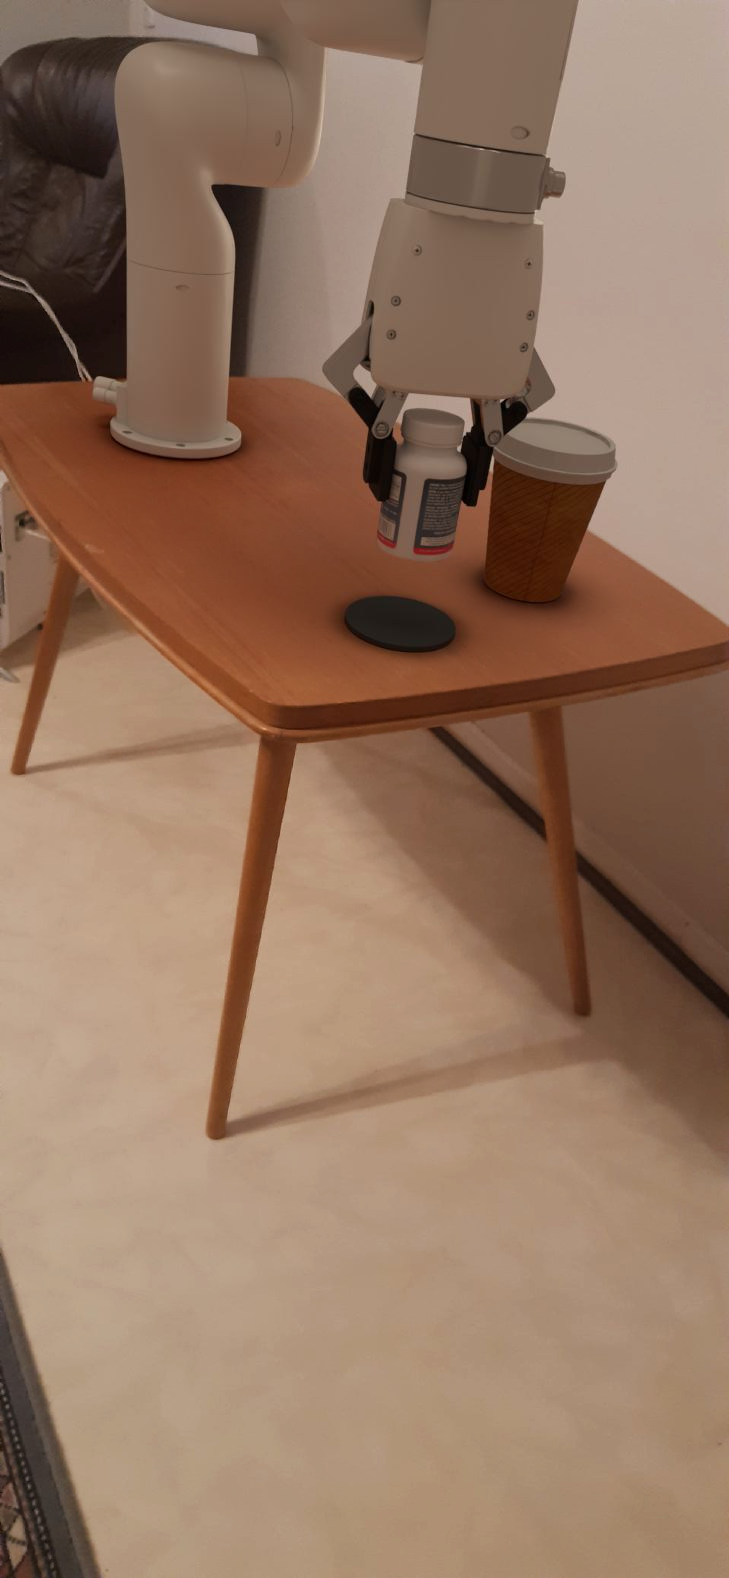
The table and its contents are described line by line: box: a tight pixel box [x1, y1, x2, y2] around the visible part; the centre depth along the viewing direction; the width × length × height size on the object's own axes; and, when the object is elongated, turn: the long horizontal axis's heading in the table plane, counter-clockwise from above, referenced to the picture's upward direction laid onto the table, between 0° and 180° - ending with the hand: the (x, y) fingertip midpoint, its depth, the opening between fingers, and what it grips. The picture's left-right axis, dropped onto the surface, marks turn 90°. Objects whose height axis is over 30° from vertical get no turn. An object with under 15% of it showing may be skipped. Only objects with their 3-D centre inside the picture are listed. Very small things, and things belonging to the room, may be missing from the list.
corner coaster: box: [344, 595, 457, 653], centre depth 73 cm, size 8×8×1 cm
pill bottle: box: [375, 407, 467, 564], centre depth 68 cm, size 5×5×9 cm
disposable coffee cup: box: [483, 416, 619, 603], centre depth 79 cm, size 10×10×12 cm
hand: (422, 494), depth 68 cm, fingers closed on pill bottle, 5 cm apart
